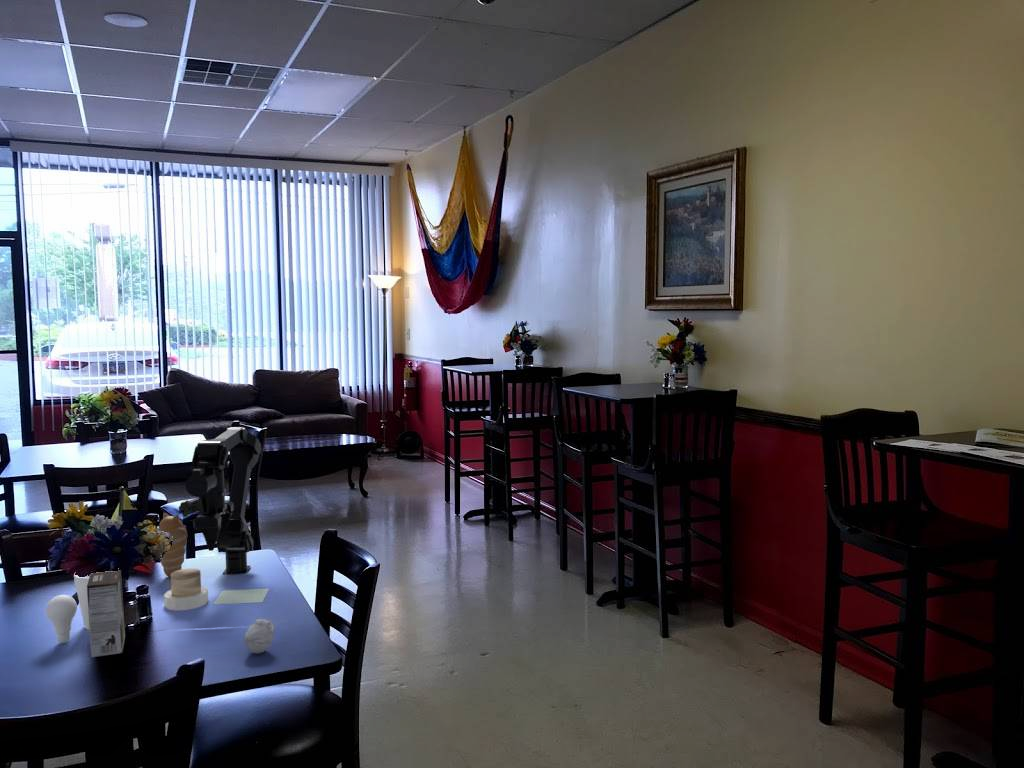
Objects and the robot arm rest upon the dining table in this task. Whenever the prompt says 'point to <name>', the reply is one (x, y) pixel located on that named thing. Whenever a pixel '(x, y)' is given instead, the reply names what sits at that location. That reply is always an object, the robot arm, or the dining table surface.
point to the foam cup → (83, 597)
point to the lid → (185, 582)
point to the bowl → (186, 600)
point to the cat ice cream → (173, 544)
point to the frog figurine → (259, 636)
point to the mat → (241, 596)
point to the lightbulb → (61, 615)
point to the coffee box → (105, 613)
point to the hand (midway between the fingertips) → (215, 545)
